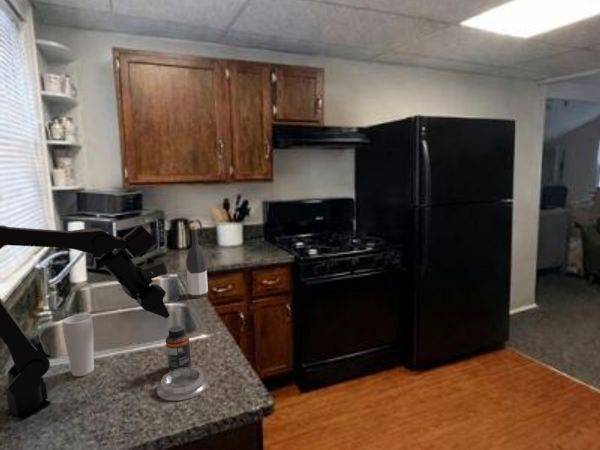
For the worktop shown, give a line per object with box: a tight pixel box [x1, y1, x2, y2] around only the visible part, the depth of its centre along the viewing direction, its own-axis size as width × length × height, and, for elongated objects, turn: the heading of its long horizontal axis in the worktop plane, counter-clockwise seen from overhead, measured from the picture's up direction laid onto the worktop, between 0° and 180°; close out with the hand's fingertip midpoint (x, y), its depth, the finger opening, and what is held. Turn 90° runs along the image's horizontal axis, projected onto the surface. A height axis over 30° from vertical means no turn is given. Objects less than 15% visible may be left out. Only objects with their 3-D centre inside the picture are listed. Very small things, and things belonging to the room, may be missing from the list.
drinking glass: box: [62, 313, 95, 377], centre depth 102 cm, size 7×7×15 cm
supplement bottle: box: [165, 325, 192, 372], centre depth 103 cm, size 6×6×11 cm
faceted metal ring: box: [156, 366, 209, 402], centre depth 95 cm, size 12×12×2 cm
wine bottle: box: [185, 225, 209, 299], centre depth 163 cm, size 8×8×30 cm
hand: (162, 312), depth 104 cm, fingers open, 9 cm apart
